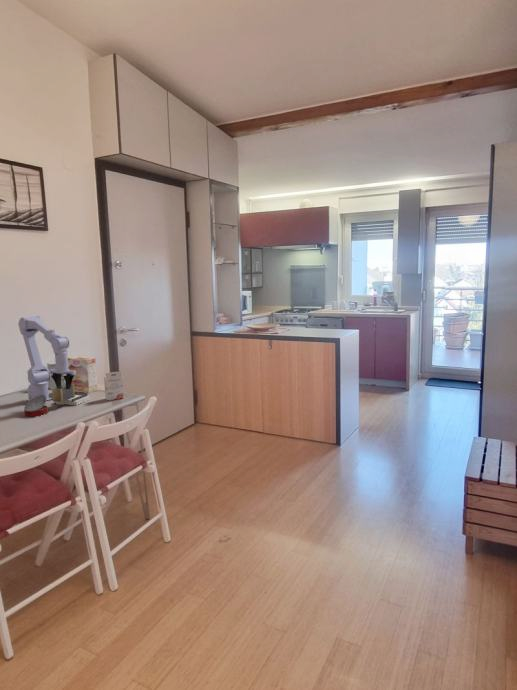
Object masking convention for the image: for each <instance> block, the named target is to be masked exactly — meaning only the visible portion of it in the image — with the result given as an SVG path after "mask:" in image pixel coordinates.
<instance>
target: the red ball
mask: <svg viewBox="0 0 517 690" xmlns="http://www.w3.org/2000/svg"><path fill="white" fill-rule="evenodd" d="M46 403H47V401H46V397H45V396H44V395H39V396H37V397H35V398H33V399H31V400H30V401H27V403H26V404H25V406H24V416H25V417H26V418H37V417H36V416H38V417H42V416H41V415H43V416H45V415H47V414H48V412H49V411H48V406H47V405H46ZM44 414H45V415H44Z"/></svg>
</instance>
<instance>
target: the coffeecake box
mask: <svg viewBox="0 0 517 690" xmlns="http://www.w3.org/2000/svg"><path fill="white" fill-rule="evenodd" d="M68 368H69V370H74V371H76V375H74V377H73V380H72V383H71V384H74V387H75V393H79V392H84V393H83V394H88V393H90V394H92V393H91V392H93V393H95V392H97V391H98V381H97V380H98V379H97V366H96V357H92V356H82V355H81V356H80V355H79V356H78V355H73V356H68ZM94 391H95V392H94Z"/></svg>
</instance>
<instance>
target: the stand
mask: <svg viewBox="0 0 517 690" xmlns="http://www.w3.org/2000/svg"><path fill="white" fill-rule="evenodd" d="M90 399H91V395H88V393H83V394H82V395H78V394H75V397H74V398H71V399H68V400H66V401H63V402H55V401H53V400H52V402H53V404H54V403H56V404H55V405H64V404H68V405H67V406H79V405H81V404H80V403H82V404H84V403H86V402H85V401H87V400H89V401H90ZM91 400H92V399H91ZM83 402H84V403H83ZM87 402H88V401H87ZM78 404H79V405H78Z"/></svg>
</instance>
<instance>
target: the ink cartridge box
mask: <svg viewBox="0 0 517 690" xmlns="http://www.w3.org/2000/svg"><path fill="white" fill-rule="evenodd" d="M104 376H105V377H103V379H104V394H105V397H104V398H105V400H106V399H107V400H109V401H114V399H116V400H121V399H120V398H123V399H124V387H123V384H124V383H123V375H122V371H112V372H106V373H105V375H104ZM107 400H106V401H107Z"/></svg>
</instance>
